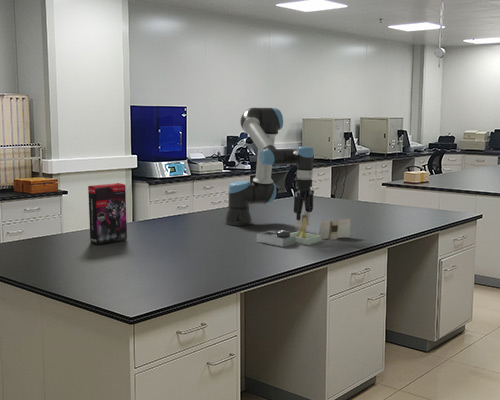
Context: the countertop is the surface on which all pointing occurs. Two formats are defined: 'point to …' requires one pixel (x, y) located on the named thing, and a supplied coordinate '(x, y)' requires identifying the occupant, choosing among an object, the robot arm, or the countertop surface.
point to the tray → (307, 238)
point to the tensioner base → (276, 238)
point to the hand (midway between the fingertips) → (302, 225)
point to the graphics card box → (107, 213)
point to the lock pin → (303, 228)
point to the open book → (334, 229)
